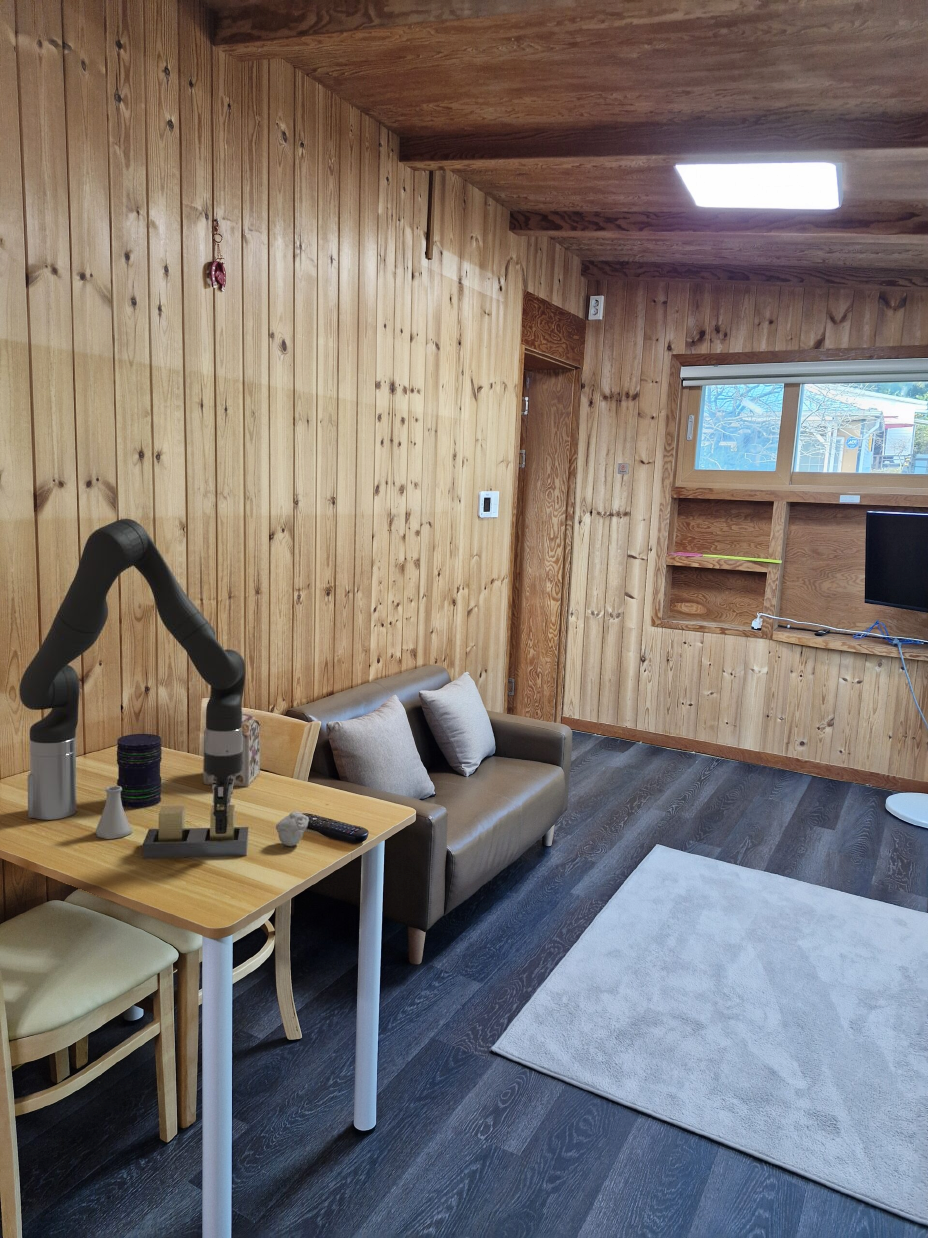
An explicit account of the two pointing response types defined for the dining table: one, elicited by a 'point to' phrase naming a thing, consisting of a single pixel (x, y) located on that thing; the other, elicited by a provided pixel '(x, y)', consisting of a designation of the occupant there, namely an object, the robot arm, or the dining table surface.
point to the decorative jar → (245, 754)
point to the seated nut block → (172, 824)
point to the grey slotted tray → (196, 844)
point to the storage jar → (139, 770)
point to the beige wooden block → (230, 824)
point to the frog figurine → (292, 828)
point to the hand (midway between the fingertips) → (222, 825)
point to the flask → (113, 816)
